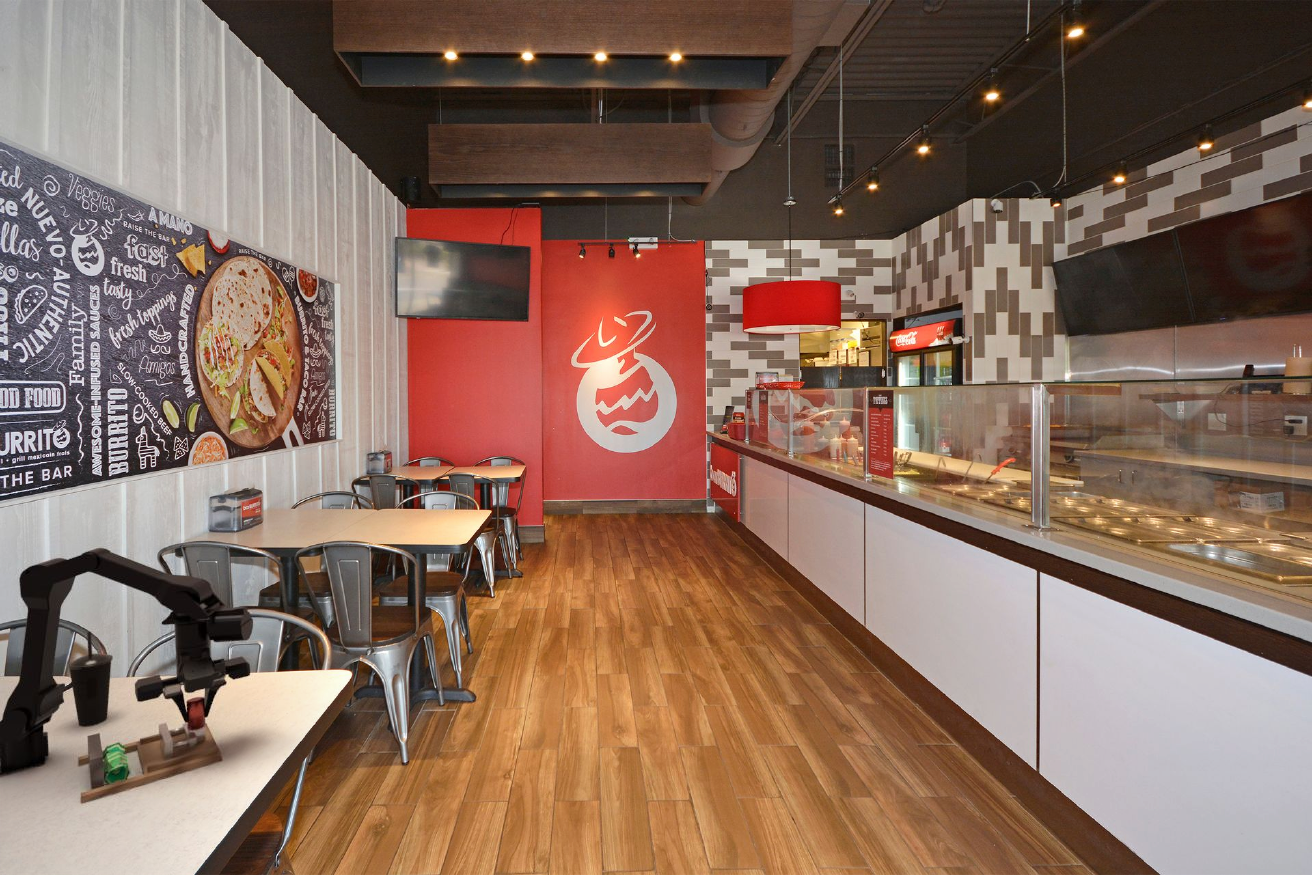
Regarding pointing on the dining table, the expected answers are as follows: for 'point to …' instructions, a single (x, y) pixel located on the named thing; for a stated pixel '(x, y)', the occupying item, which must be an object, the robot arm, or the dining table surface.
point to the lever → (185, 728)
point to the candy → (115, 763)
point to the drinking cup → (91, 685)
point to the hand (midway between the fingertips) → (196, 719)
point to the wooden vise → (147, 762)
